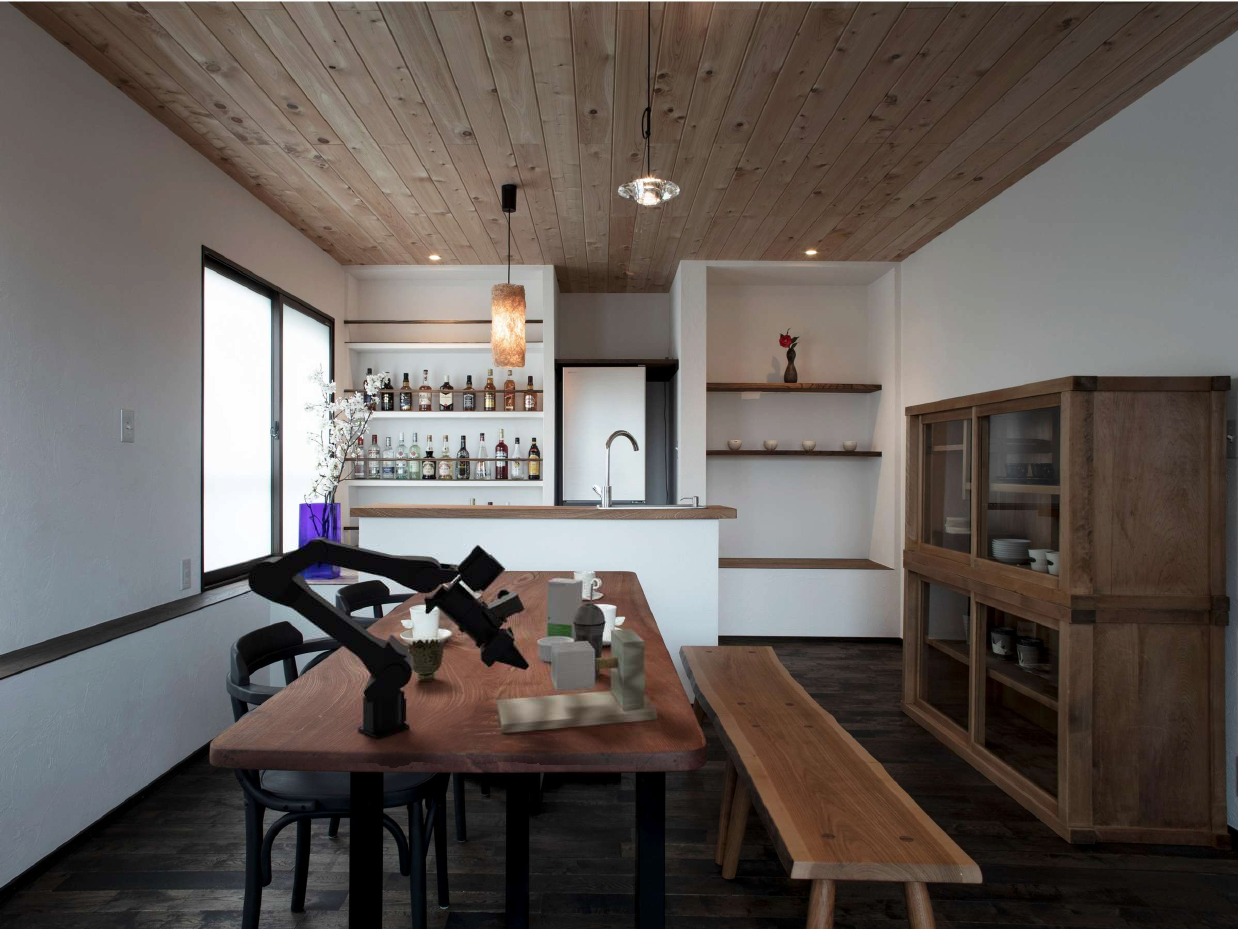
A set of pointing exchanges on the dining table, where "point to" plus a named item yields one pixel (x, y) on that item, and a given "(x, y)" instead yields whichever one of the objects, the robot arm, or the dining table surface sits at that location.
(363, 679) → the dining table surface
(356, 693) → the dining table surface
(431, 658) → the cup
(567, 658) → the grey cube
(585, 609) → the beverage cup
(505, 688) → the dining table surface
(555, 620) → the skincare box
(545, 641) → the ramekin
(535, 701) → the l-shaped wooden stand
